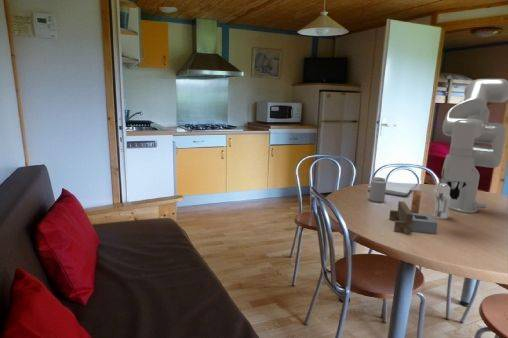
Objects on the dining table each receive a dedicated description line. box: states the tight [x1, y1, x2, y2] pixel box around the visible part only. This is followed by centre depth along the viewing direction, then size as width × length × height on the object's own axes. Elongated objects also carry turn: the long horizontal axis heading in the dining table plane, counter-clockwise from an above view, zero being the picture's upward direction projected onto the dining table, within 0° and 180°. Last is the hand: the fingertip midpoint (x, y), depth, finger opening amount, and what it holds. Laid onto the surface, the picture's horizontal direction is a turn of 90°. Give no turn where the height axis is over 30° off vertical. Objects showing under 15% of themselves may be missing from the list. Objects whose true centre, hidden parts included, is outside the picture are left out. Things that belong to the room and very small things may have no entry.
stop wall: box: [388, 200, 413, 235], centre depth 142 cm, size 6×18×8 cm, turn 166°
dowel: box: [410, 189, 422, 214], centre depth 153 cm, size 3×3×12 cm
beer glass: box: [432, 182, 453, 220], centre depth 154 cm, size 7×7×15 cm
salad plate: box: [367, 181, 414, 197], centre depth 199 cm, size 21×21×3 cm
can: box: [368, 176, 387, 203], centre depth 177 cm, size 8×8×12 cm
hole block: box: [411, 213, 438, 235], centre depth 140 cm, size 10×10×4 cm
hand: (453, 198), depth 136 cm, fingers closed
